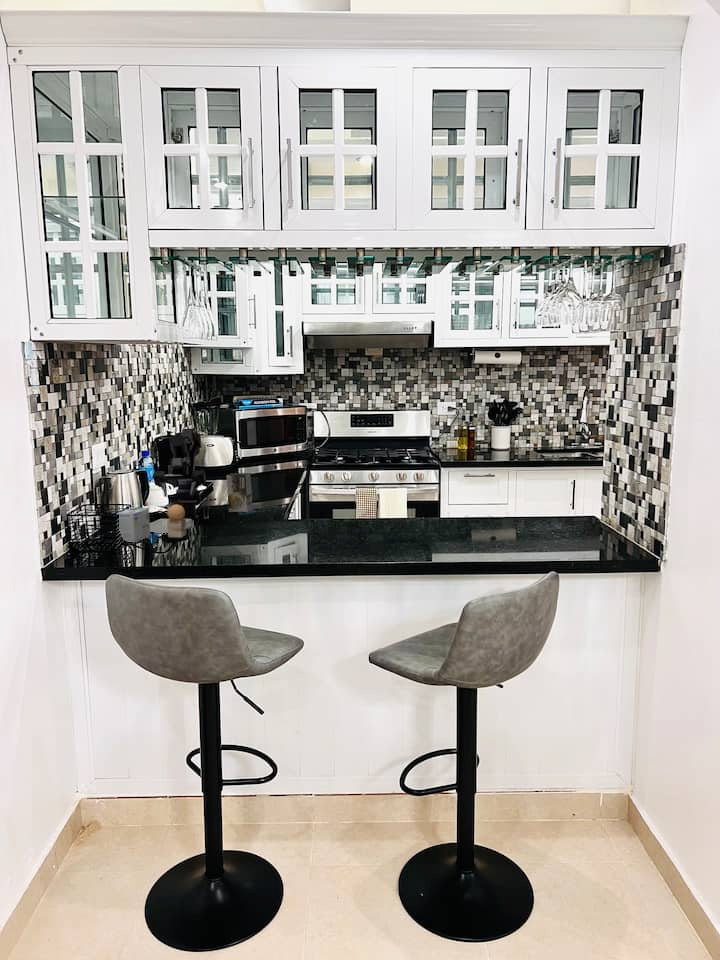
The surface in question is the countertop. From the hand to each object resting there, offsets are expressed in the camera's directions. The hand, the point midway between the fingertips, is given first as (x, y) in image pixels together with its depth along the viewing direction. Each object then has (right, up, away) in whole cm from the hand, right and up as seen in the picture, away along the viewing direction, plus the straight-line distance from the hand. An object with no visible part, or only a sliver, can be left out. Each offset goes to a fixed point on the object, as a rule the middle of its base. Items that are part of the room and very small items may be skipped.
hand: (178, 496), depth 263 cm
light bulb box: (-13, -15, -11) cm, 23 cm away
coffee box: (+16, -7, +43) cm, 47 cm away
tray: (-4, -13, +5) cm, 15 cm away
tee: (+1, -14, -6) cm, 16 cm away
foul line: (-5, -14, -2) cm, 15 cm away
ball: (+1, -6, -7) cm, 9 cm away
